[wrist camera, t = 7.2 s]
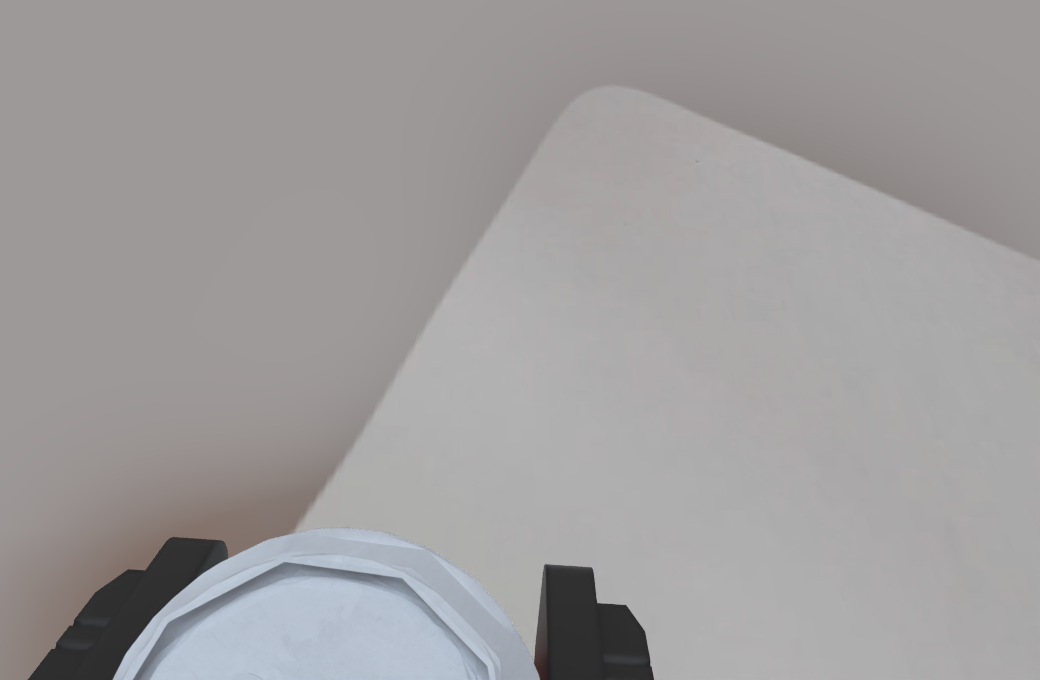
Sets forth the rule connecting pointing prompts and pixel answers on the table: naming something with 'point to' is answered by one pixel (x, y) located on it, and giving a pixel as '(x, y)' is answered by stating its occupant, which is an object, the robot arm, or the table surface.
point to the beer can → (331, 617)
